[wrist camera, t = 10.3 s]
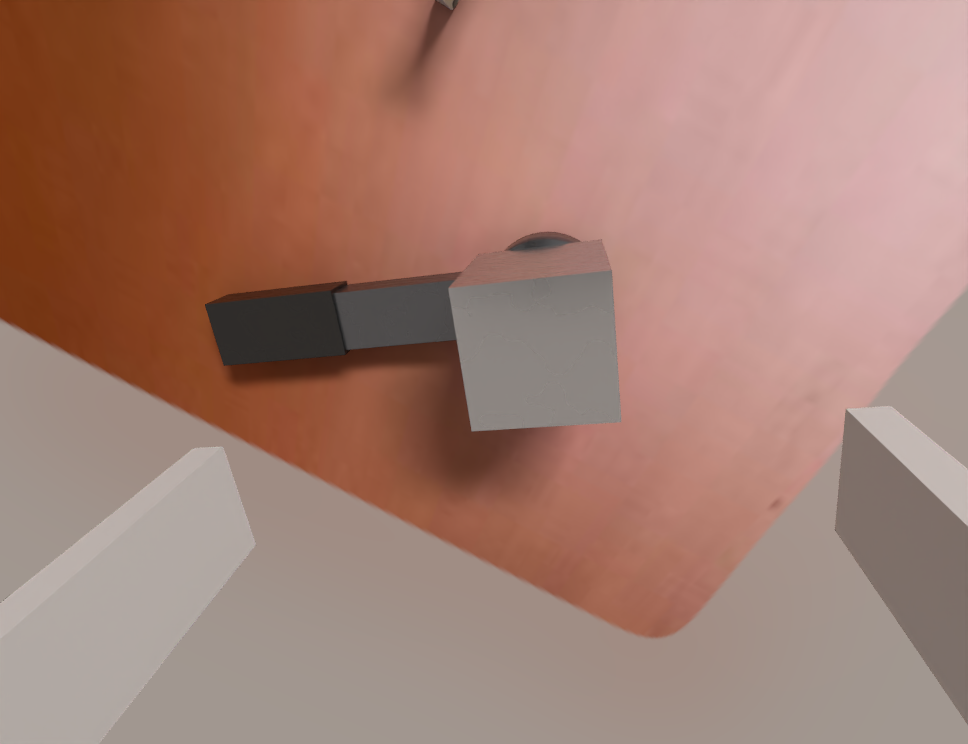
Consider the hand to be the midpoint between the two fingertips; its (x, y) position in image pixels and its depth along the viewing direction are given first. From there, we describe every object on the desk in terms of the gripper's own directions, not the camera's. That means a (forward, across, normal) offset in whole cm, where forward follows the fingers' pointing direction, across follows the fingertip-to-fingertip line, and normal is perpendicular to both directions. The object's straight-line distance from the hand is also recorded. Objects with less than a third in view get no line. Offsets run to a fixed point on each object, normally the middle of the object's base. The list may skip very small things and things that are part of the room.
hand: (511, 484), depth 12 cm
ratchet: (+18, -7, 0) cm, 20 cm away
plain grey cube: (+16, 0, 0) cm, 16 cm away
